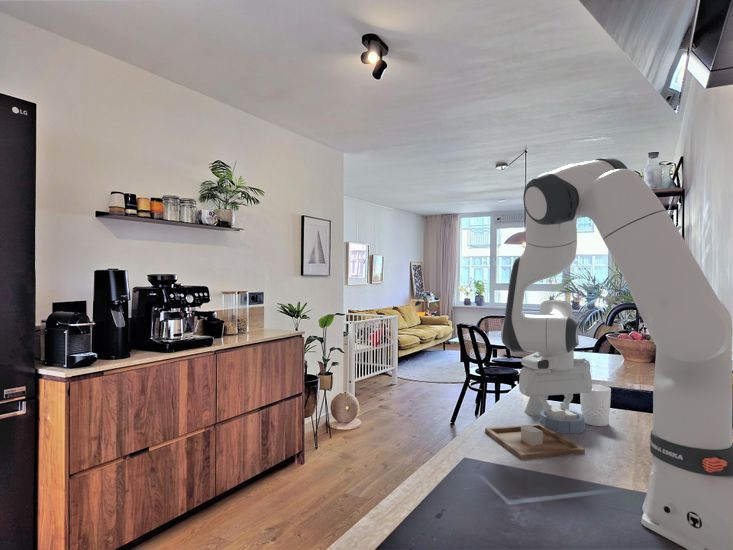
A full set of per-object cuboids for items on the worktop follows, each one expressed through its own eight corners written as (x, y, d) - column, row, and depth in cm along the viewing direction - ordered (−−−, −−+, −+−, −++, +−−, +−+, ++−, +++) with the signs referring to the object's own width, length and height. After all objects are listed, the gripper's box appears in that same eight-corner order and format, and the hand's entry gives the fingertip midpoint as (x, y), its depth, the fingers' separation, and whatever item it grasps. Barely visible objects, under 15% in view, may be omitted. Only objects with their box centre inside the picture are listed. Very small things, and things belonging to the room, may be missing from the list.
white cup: (576, 417, 134) (576, 383, 134) (606, 419, 133) (605, 384, 133) (583, 426, 127) (583, 390, 127) (614, 428, 125) (614, 391, 125)
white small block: (576, 426, 124) (576, 414, 124) (566, 427, 123) (566, 415, 123) (567, 421, 128) (567, 410, 128) (557, 422, 127) (557, 411, 127)
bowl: (593, 433, 121) (593, 419, 121) (555, 436, 119) (555, 422, 119) (566, 420, 132) (566, 407, 132) (532, 422, 130) (532, 410, 130)
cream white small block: (542, 444, 112) (542, 430, 112) (531, 445, 111) (531, 432, 111) (531, 438, 116) (531, 425, 116) (521, 440, 115) (521, 427, 115)
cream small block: (565, 422, 123) (565, 410, 123) (554, 423, 123) (554, 411, 123) (557, 418, 127) (556, 406, 127) (546, 418, 127) (546, 407, 127)
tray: (584, 455, 106) (584, 449, 106) (521, 462, 103) (521, 454, 103) (540, 429, 124) (540, 423, 124) (485, 434, 121) (485, 428, 121)
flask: (552, 419, 133) (552, 384, 133) (525, 417, 134) (525, 383, 134) (547, 411, 140) (547, 379, 140) (522, 410, 141) (522, 378, 141)
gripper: (582, 355, 130) (582, 404, 130) (515, 359, 126) (516, 409, 126) (597, 360, 124) (597, 411, 124) (528, 363, 120) (528, 416, 120)
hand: (555, 410), depth 125 cm, fingers open, 4 cm apart
